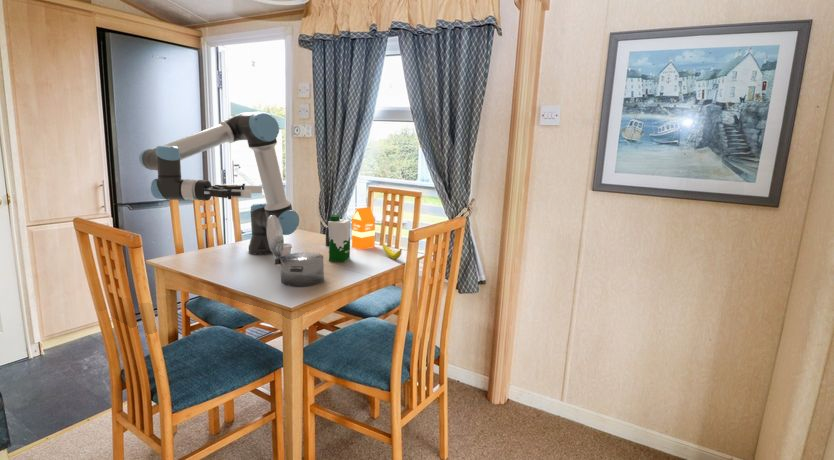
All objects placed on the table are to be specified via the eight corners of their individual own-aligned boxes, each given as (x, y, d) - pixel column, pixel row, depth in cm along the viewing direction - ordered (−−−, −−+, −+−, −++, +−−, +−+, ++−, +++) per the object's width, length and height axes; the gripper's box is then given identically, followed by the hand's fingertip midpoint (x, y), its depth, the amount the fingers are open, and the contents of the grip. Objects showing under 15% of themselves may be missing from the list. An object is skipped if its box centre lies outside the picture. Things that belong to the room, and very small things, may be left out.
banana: (385, 252, 220) (385, 240, 218) (404, 262, 204) (404, 249, 202) (379, 253, 218) (379, 240, 217) (398, 263, 202) (398, 249, 201)
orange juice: (374, 246, 231) (375, 207, 227) (361, 249, 225) (361, 209, 221) (364, 243, 236) (365, 206, 232) (351, 246, 230) (351, 207, 226)
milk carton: (333, 256, 211) (333, 214, 207) (352, 258, 209) (352, 215, 205) (326, 261, 202) (325, 217, 198) (345, 263, 200) (345, 218, 196)
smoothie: (278, 265, 194) (277, 233, 191) (293, 265, 195) (292, 233, 192) (275, 269, 188) (273, 236, 185) (290, 269, 188) (289, 236, 186)
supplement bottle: (327, 246, 228) (327, 223, 225) (324, 243, 234) (323, 221, 231) (341, 245, 231) (340, 222, 228) (336, 242, 237) (336, 220, 234)
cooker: (328, 272, 186) (327, 251, 184) (318, 289, 166) (317, 265, 164) (284, 271, 185) (283, 250, 184) (269, 288, 165) (268, 264, 163)
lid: (278, 211, 178) (273, 212, 178) (265, 219, 162) (260, 220, 162) (286, 250, 181) (281, 251, 181) (275, 261, 166) (269, 262, 166)
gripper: (211, 196, 180) (266, 197, 181) (183, 205, 155) (246, 206, 157) (210, 177, 178) (265, 178, 180) (181, 183, 154) (245, 185, 155)
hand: (256, 191), depth 168 cm, fingers open, 13 cm apart
